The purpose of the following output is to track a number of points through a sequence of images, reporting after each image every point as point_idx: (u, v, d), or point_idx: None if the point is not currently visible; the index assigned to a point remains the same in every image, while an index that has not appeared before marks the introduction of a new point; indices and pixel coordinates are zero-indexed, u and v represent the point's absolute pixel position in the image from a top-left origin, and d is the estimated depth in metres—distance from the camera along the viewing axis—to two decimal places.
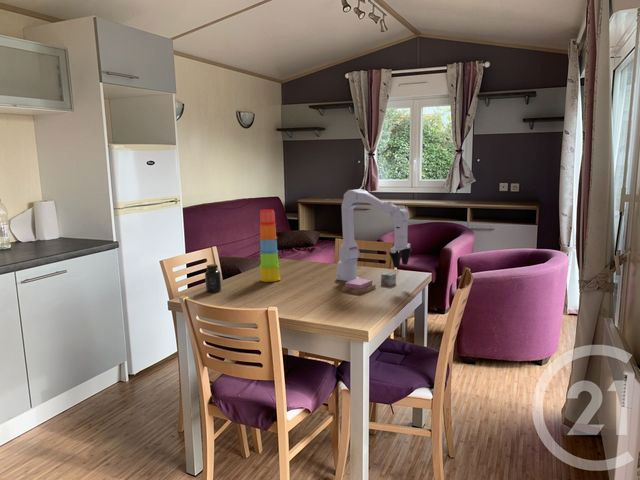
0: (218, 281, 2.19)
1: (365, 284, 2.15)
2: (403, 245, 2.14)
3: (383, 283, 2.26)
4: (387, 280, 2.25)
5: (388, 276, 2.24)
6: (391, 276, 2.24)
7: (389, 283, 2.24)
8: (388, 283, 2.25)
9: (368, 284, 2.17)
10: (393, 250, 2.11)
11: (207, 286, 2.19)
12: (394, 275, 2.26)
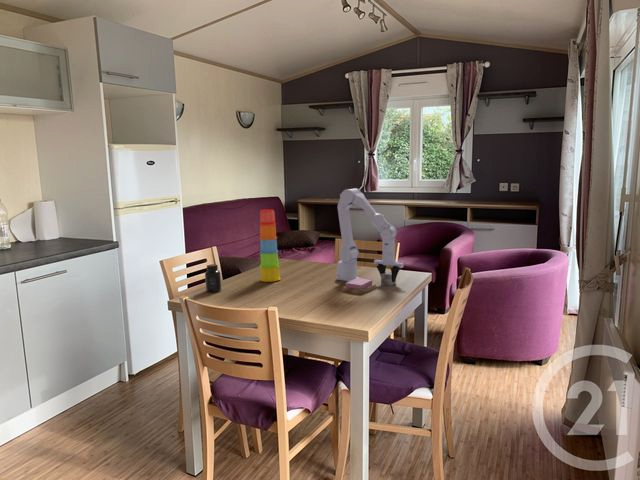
0: (218, 281, 2.19)
1: (365, 284, 2.15)
2: (382, 260, 2.25)
3: (383, 283, 2.26)
4: (387, 280, 2.25)
5: (388, 276, 2.24)
6: (391, 275, 2.24)
7: (389, 283, 2.24)
8: (388, 283, 2.24)
9: (368, 284, 2.18)
10: None
11: (207, 286, 2.19)
12: None
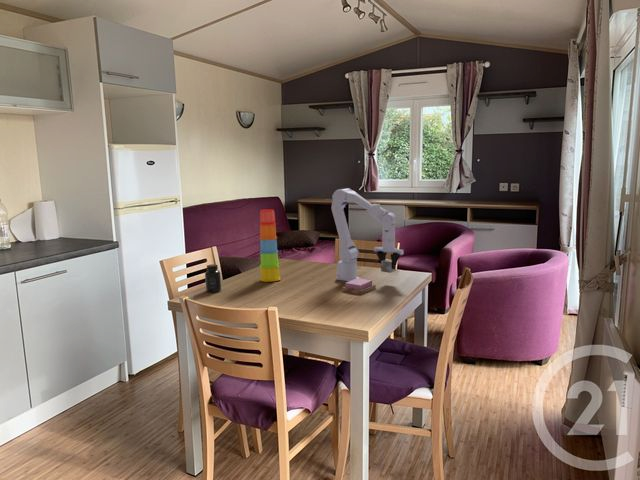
0: (218, 281, 2.19)
1: (365, 284, 2.15)
2: (382, 247, 2.24)
3: (383, 270, 2.25)
4: (387, 267, 2.24)
5: (388, 263, 2.23)
6: (391, 262, 2.23)
7: (389, 270, 2.23)
8: (388, 270, 2.23)
9: (368, 284, 2.17)
10: None
11: (207, 286, 2.19)
12: None
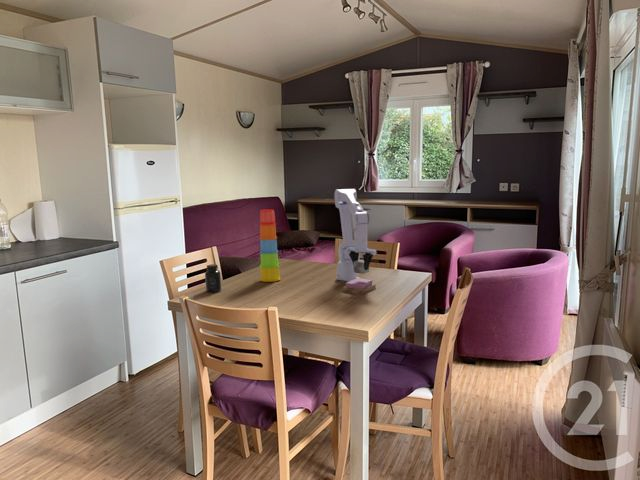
0: (218, 281, 2.19)
1: (365, 284, 2.15)
2: (355, 247, 2.15)
3: (356, 271, 2.17)
4: (360, 268, 2.15)
5: (361, 263, 2.15)
6: None
7: (362, 271, 2.15)
8: (361, 271, 2.15)
9: (368, 284, 2.17)
10: None
11: (207, 286, 2.19)
12: None
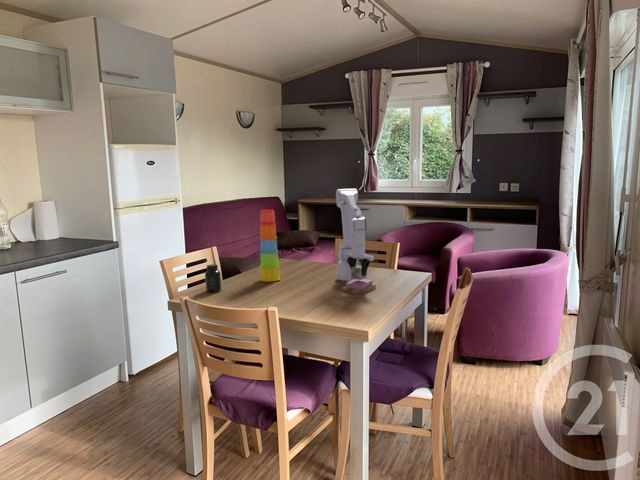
0: (218, 281, 2.19)
1: (366, 284, 2.15)
2: (352, 253, 2.15)
3: (353, 277, 2.17)
4: (357, 274, 2.15)
5: (358, 269, 2.14)
6: None
7: (359, 277, 2.15)
8: (358, 277, 2.15)
9: (368, 284, 2.17)
10: None
11: (207, 286, 2.19)
12: None
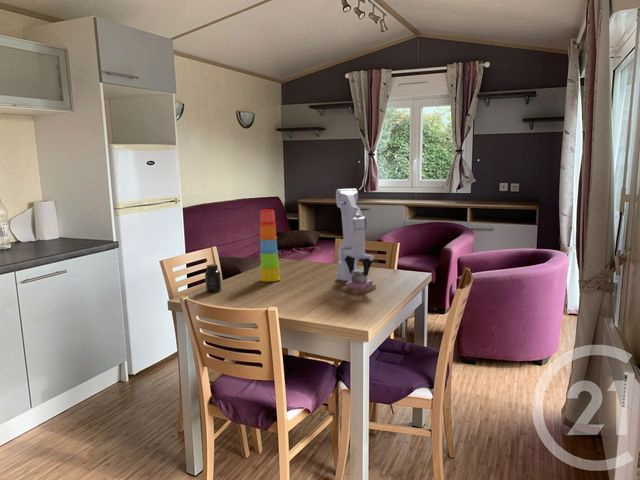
0: (218, 281, 2.19)
1: (366, 284, 2.15)
2: (352, 252, 2.15)
3: (354, 280, 2.17)
4: (358, 277, 2.15)
5: (359, 273, 2.15)
6: (362, 273, 2.15)
7: (360, 281, 2.15)
8: (359, 280, 2.15)
9: (368, 284, 2.17)
10: None
11: (207, 286, 2.19)
12: None
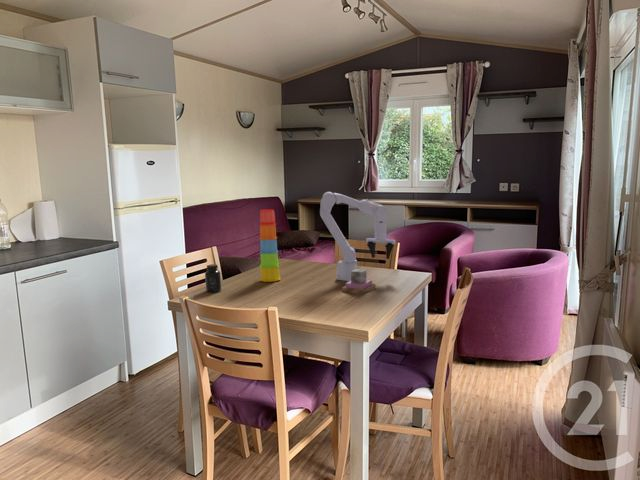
0: (218, 281, 2.19)
1: (365, 284, 2.15)
2: (375, 238, 2.33)
3: (353, 280, 2.17)
4: (358, 277, 2.15)
5: (358, 273, 2.14)
6: (362, 273, 2.15)
7: (360, 281, 2.15)
8: (358, 280, 2.15)
9: (368, 284, 2.17)
10: None
11: (207, 286, 2.19)
12: (365, 272, 2.17)
